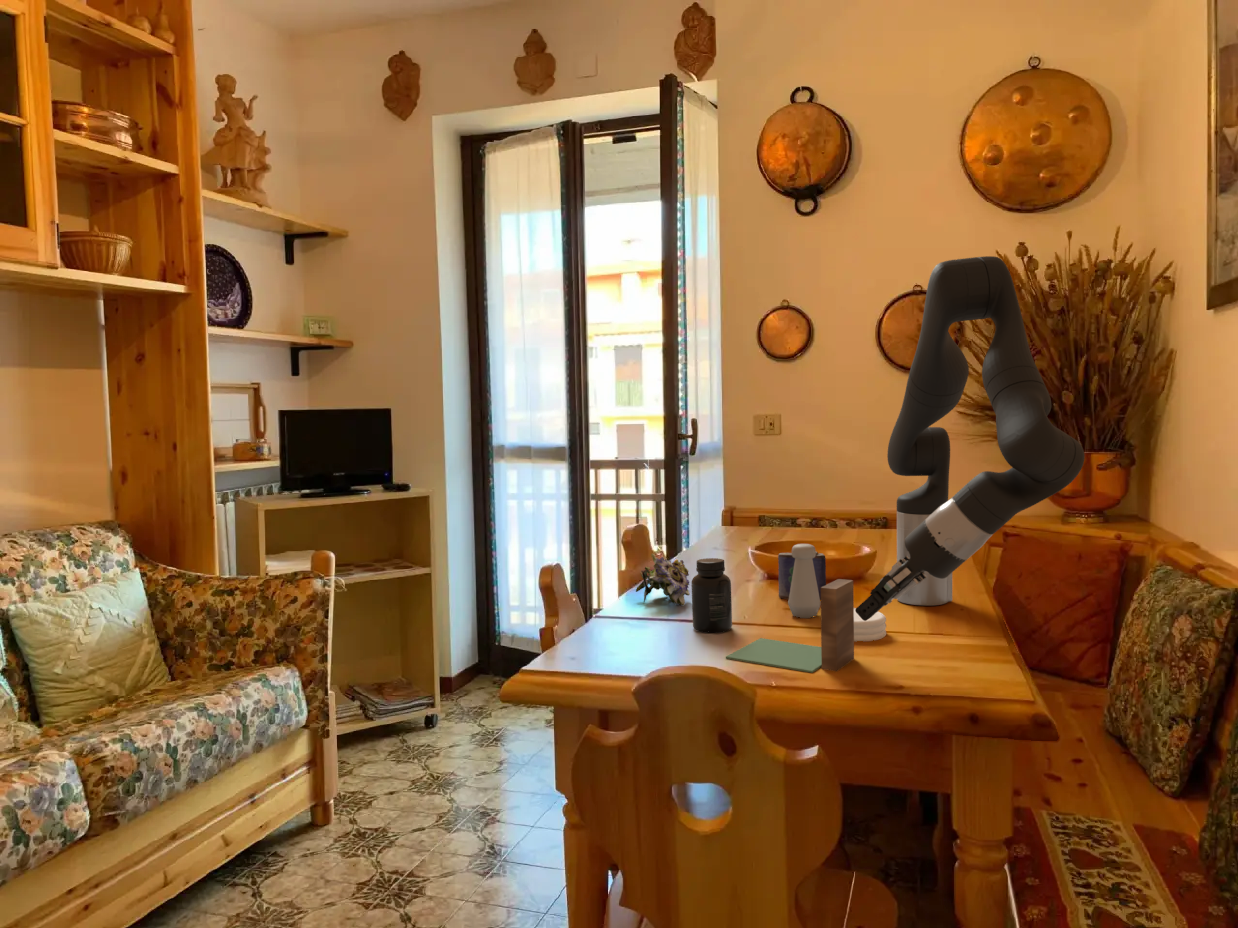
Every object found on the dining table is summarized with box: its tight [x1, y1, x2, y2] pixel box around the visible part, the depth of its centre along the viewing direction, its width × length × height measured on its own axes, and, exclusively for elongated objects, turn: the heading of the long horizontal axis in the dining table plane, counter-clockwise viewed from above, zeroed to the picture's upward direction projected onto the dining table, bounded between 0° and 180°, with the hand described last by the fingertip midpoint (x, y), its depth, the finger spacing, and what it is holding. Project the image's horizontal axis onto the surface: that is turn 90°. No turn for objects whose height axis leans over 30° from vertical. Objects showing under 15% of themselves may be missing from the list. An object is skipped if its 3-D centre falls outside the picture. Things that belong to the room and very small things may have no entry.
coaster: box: [854, 607, 887, 642], centre depth 145 cm, size 10×10×4 cm
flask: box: [777, 551, 827, 600], centre depth 171 cm, size 9×3×11 cm, turn 71°
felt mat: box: [725, 637, 822, 674], centre depth 133 cm, size 14×12×1 cm
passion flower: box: [635, 553, 691, 607], centre depth 171 cm, size 11×11×12 cm
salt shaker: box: [787, 543, 821, 619], centre depth 157 cm, size 6×6×13 cm
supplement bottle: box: [690, 557, 733, 634], centre depth 150 cm, size 7×7×12 cm
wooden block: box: [820, 578, 855, 672], centre depth 128 cm, size 2×7×12 cm, turn 145°
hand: (861, 614), depth 126 cm, fingers closed
